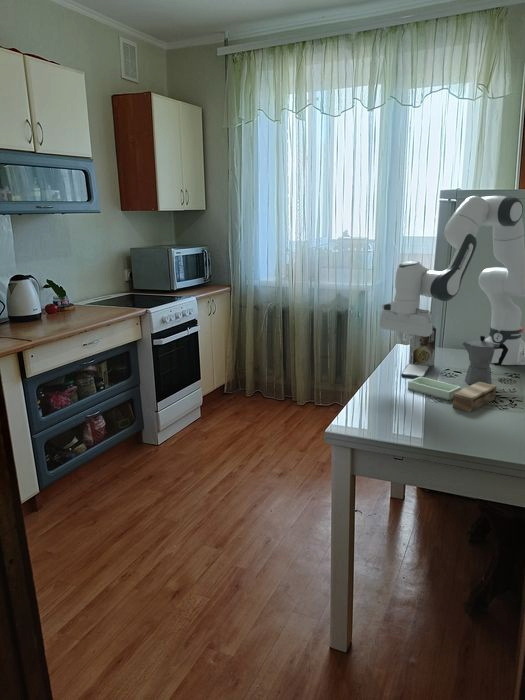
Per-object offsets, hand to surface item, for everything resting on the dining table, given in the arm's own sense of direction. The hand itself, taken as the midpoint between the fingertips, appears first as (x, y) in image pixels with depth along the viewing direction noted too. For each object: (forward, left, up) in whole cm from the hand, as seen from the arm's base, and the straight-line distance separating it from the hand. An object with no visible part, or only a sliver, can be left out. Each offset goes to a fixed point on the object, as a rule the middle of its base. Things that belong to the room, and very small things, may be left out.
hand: (404, 344), depth 187 cm
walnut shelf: (0, +28, -15) cm, 31 cm away
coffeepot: (-21, +20, -15) cm, 33 cm away
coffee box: (-27, -9, -15) cm, 32 cm away
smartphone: (-15, -4, -16) cm, 22 cm away
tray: (0, +13, -15) cm, 20 cm away
